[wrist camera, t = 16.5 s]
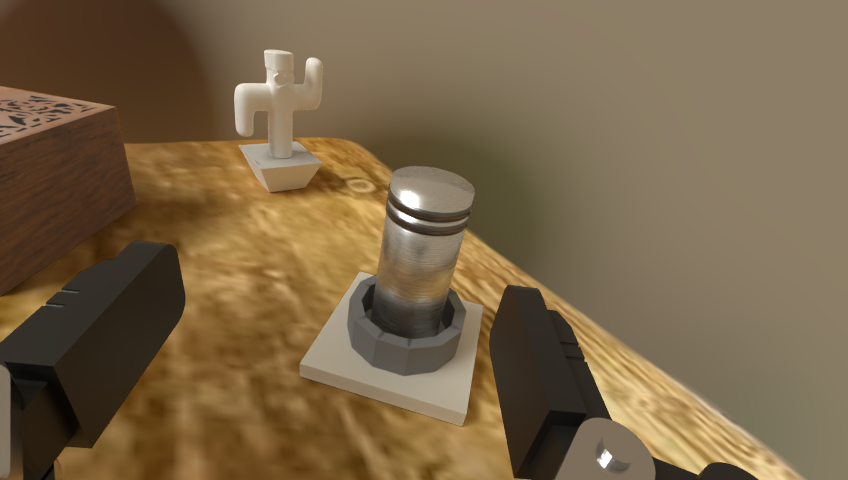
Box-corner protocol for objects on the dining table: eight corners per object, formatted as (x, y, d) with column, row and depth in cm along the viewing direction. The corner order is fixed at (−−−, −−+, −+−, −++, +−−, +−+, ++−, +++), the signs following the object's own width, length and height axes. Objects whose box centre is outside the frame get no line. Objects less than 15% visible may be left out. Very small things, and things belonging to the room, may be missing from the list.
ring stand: (299, 376, 27) (300, 335, 25) (358, 282, 37) (362, 247, 35) (462, 426, 26) (475, 387, 24) (480, 316, 35) (490, 282, 34)
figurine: (230, 175, 50) (220, 39, 42) (304, 167, 56) (307, 46, 48) (251, 201, 46) (244, 55, 38) (329, 189, 51) (337, 60, 44)
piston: (358, 345, 29) (378, 188, 23) (380, 300, 33) (403, 159, 27) (429, 366, 28) (470, 212, 22) (442, 318, 33) (479, 178, 26)
